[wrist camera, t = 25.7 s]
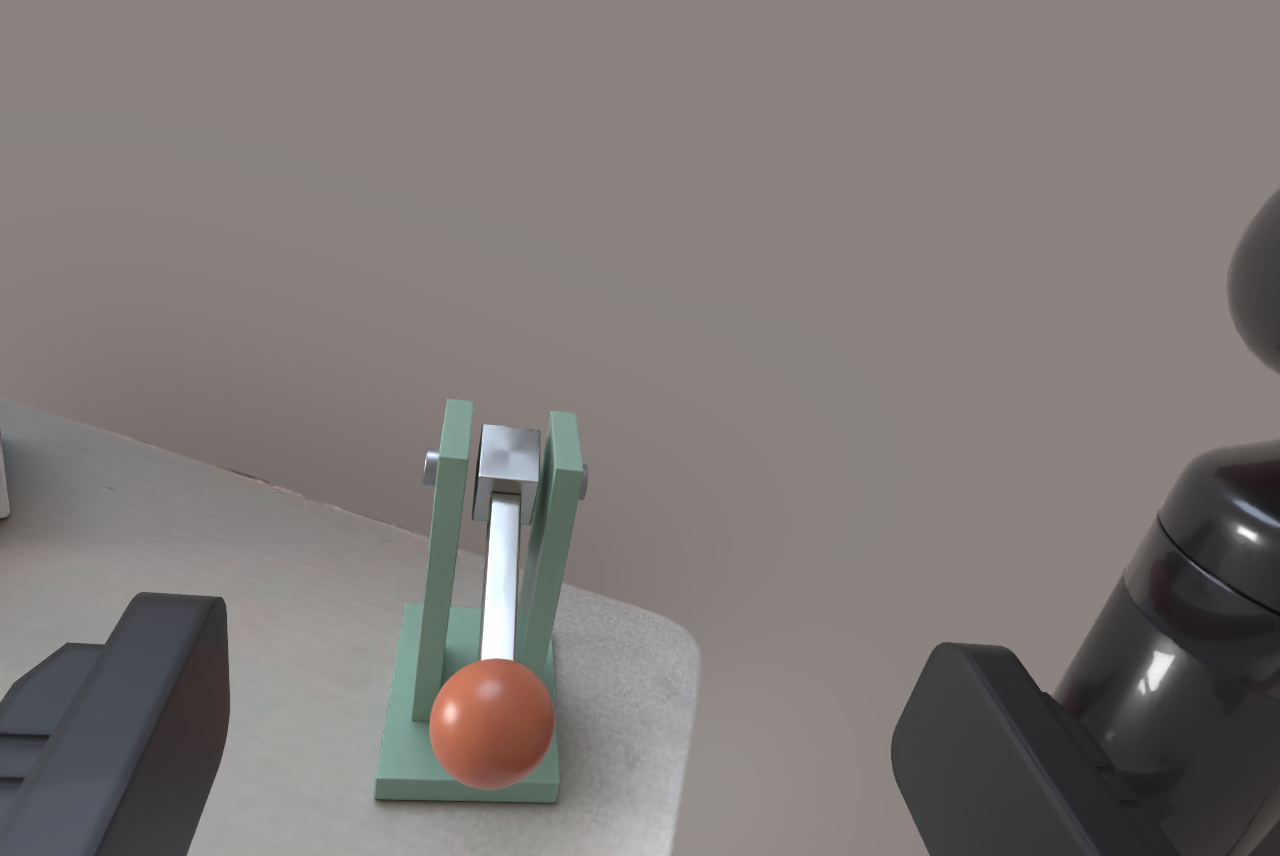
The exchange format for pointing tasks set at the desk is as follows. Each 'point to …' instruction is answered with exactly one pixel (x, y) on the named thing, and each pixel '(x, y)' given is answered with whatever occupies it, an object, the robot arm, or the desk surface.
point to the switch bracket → (477, 616)
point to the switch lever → (497, 635)
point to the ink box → (3, 486)
